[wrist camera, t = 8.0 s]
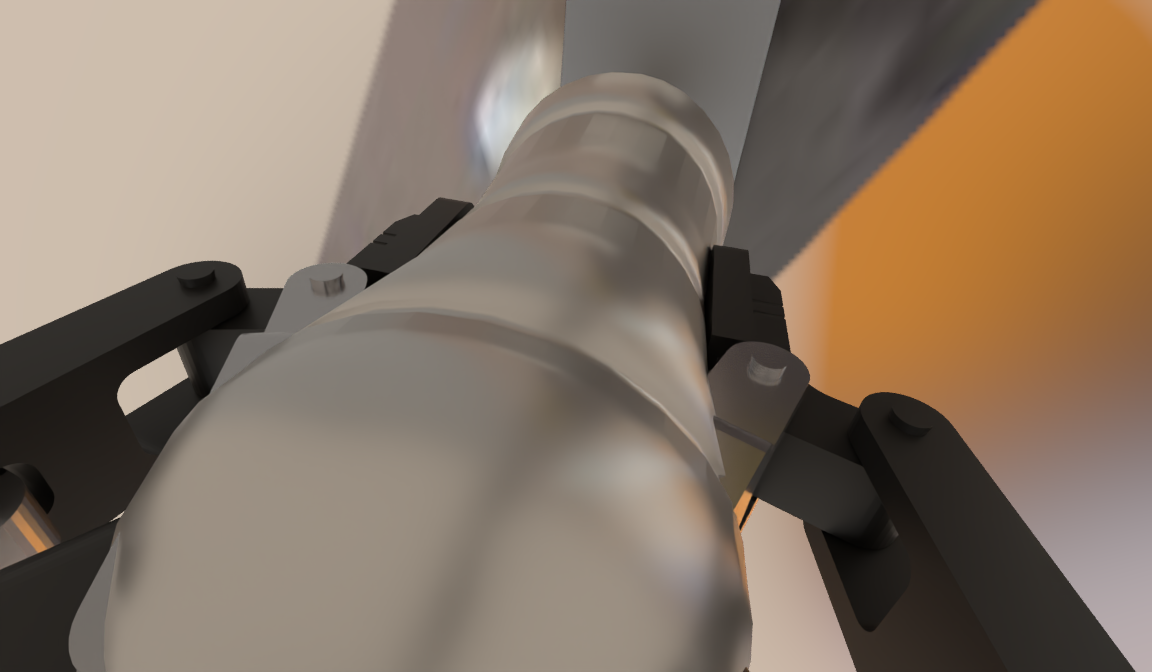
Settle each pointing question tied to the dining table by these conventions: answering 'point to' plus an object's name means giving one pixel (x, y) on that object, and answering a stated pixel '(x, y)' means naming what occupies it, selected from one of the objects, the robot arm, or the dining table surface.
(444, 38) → the dining table surface
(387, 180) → the dining table surface
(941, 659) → the robot arm
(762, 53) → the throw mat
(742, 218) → the dining table surface
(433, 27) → the dining table surface
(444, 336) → the plastic bottle
